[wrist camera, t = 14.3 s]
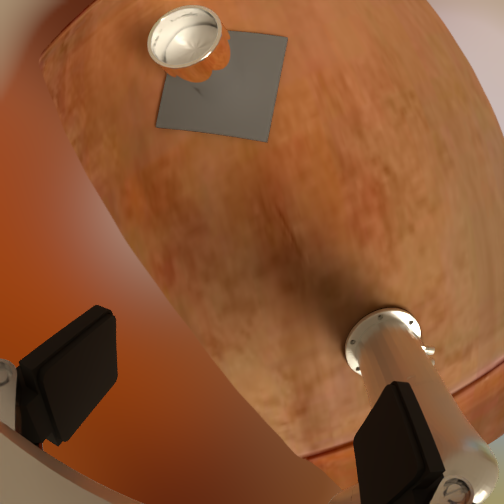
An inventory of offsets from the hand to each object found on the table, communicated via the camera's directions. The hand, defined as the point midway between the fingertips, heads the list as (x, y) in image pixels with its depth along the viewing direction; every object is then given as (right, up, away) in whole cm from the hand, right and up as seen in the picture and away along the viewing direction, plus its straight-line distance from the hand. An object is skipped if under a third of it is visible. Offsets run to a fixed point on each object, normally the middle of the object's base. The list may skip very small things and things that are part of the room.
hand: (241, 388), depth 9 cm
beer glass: (-4, +26, +25) cm, 36 cm away
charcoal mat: (-4, +27, +25) cm, 37 cm away
